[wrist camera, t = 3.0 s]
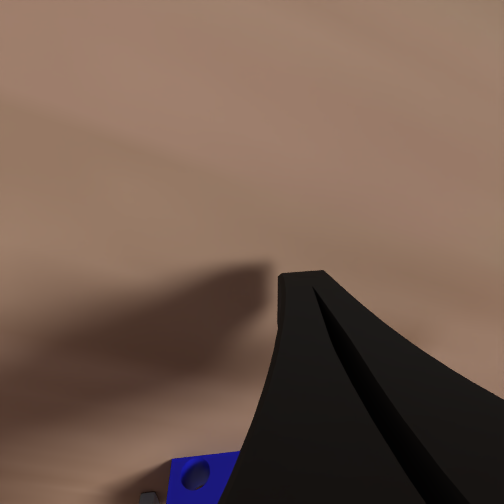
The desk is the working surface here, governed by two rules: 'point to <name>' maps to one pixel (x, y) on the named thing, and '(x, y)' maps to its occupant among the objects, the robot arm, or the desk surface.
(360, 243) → the desk surface
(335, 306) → the robot arm
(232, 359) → the desk surface
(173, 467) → the cable clip
